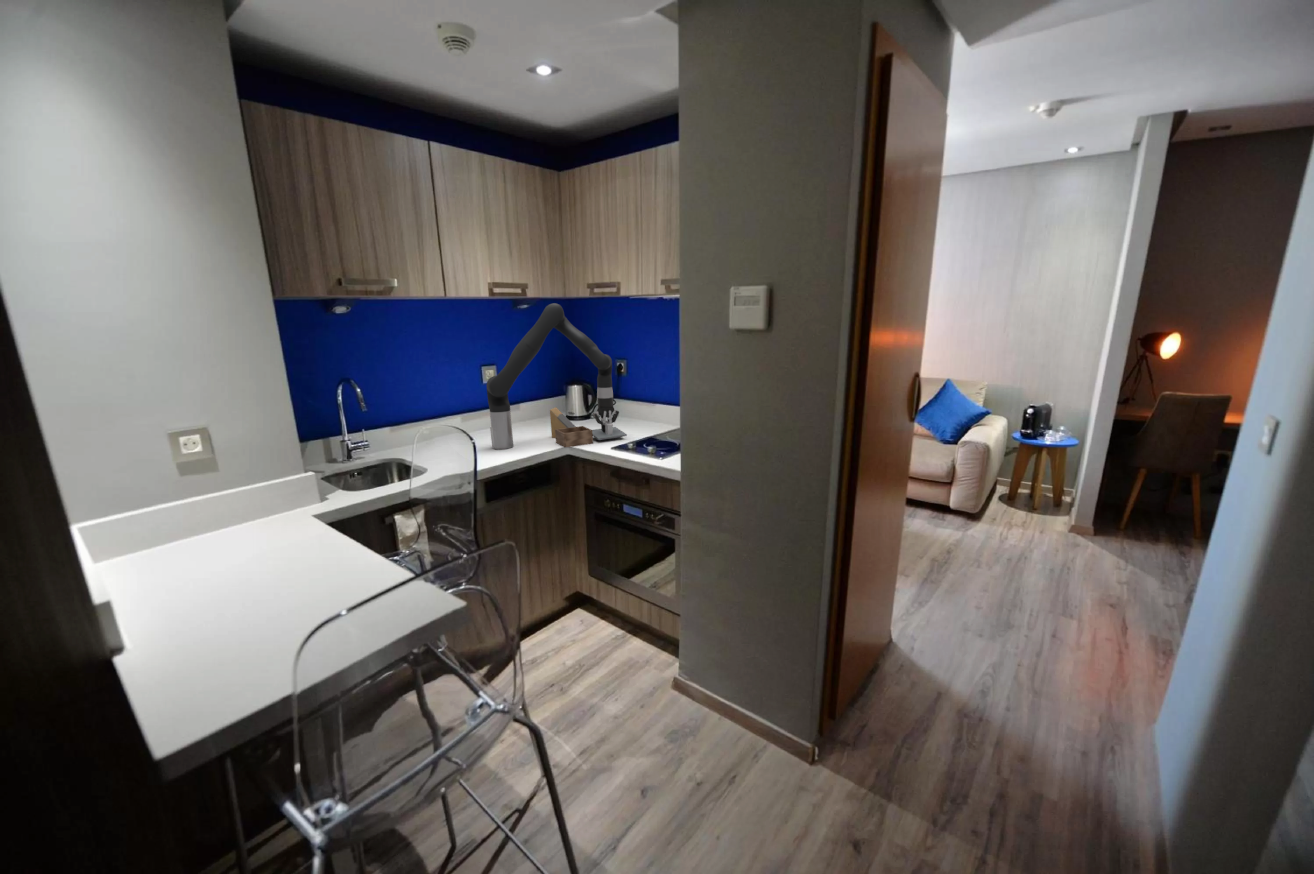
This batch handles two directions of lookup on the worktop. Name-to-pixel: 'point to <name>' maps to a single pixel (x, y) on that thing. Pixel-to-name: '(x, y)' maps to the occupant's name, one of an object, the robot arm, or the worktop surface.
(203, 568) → the worktop surface
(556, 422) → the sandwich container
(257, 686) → the worktop surface
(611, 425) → the lid
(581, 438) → the box
